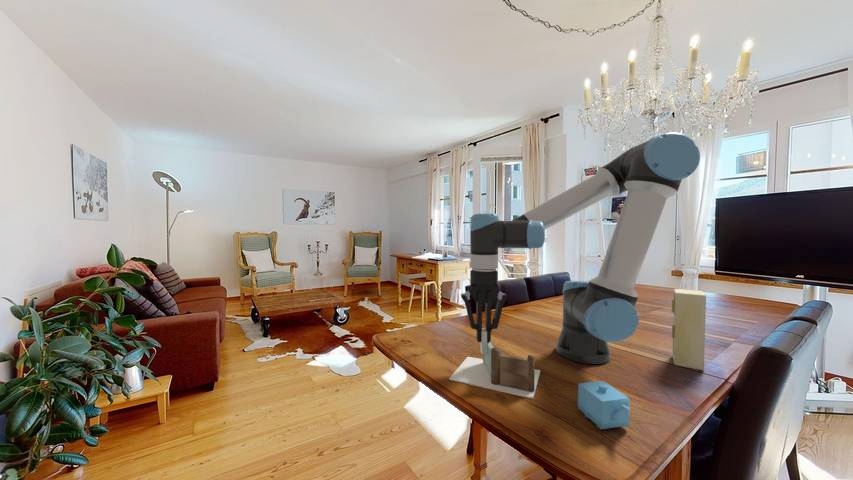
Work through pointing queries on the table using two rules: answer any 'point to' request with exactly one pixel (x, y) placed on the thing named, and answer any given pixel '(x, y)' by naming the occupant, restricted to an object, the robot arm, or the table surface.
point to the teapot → (603, 404)
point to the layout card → (486, 378)
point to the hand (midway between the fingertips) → (483, 352)
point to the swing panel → (488, 357)
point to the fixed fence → (512, 370)
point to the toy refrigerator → (689, 328)
